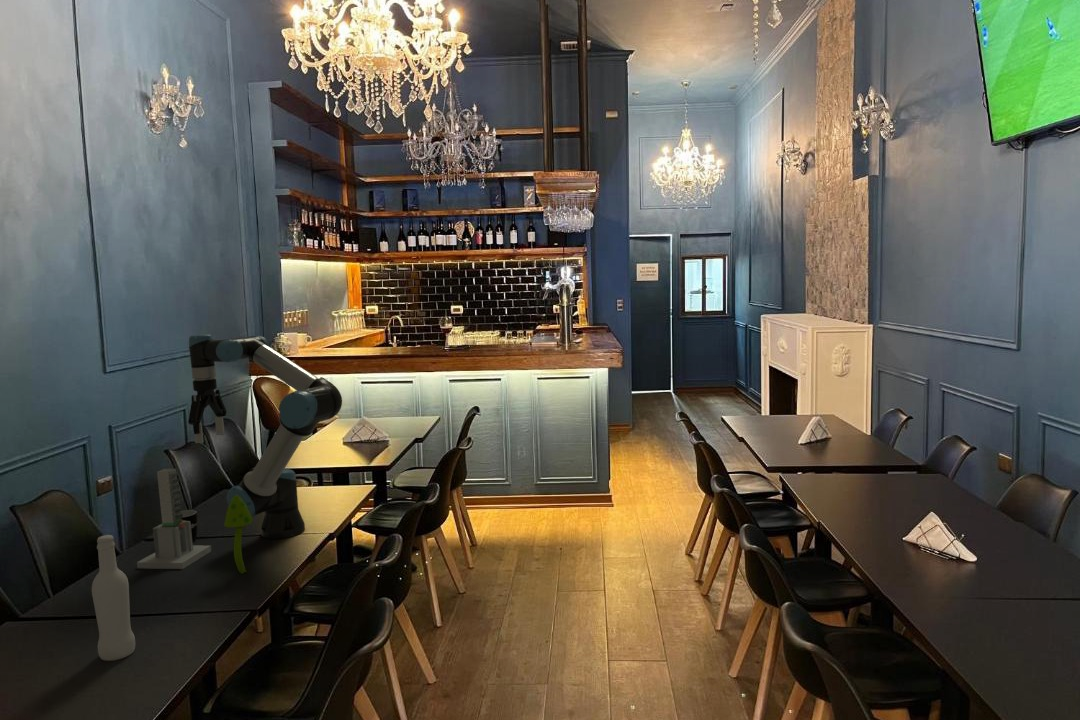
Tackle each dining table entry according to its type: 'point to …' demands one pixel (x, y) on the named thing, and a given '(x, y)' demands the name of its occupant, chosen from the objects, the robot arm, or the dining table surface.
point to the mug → (191, 521)
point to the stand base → (173, 548)
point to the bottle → (112, 605)
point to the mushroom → (238, 526)
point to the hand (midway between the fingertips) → (210, 438)
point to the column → (169, 498)
